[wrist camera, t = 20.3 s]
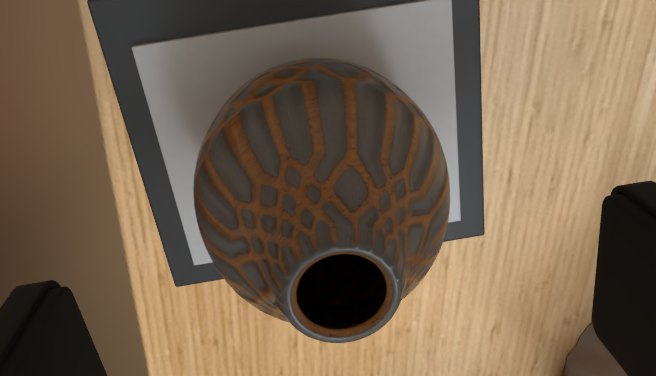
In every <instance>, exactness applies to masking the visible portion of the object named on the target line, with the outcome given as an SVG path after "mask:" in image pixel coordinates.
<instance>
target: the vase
mask: <svg viewBox="0 0 656 376" xmlns="http://www.w3.org/2000/svg"><path fill="white" fill-rule="evenodd" d="M193 193H194V208H195V214H196V219H197V223H198V227H199V231H200V234H201V237H202V239H203V242H204V245H205V247H206V249H207V252H208V254H209V256H210V258H211V259H212V261H213V263H214V265H215V267H216V268H217V270H218V271H219V273H220V274H221V275H222V277H223V278H224V279H225V280H226V282H227V283H228V284H229V285H230V286H231V287H232V288H233V289H234V291H235V292H237V293H238V294H239V295H240V296H241V297H242V298H243V299H245V300H246V301H247V302H249V303H250V304H252V305H253V306H255V307H256V308H258V309H259V310H261V311H263V312H265V313H266V314H269V315H271V316H273V317H275V318H278V319H281V320H283V321H286V322H290V323H291V324H292V325H293V326H294V327H295V328H296V329H297V330H299V331H300V332H301V333H303V334H305V335H306V336H308V337H311V338H313V339H316V340H319V341H323V342H330V343H345V342H351V341H356V340H359V339H362V338H365V337H367V336H369V335H371V334H373V333H375V332H376V331H378V330H379V329H380V328H382V327H383V326H384V325H385V324H386V323H387V322H388V321H389V320H390V319H391V318H392V316H393V315H394V313H395V312H396V310H397V308H398V306H399V304H400V301H401V300H402V299H403V298H405V297H406V296H407V295H408V294H409V293H410V292H411V291H412V290H413V289H414V288H415V287H416V286H417V285H418V284H419V283H420V281H421V280H422V279H423V278H424V276H425V275H426V274H427V272H428V271H429V269H430V268H431V266H432V264H433V263H434V261H435V259H436V257H437V255H438V253H439V251H440V248H441V246H442V243H443V239H444V236H445V233H446V229H447V225H448V218H449V210H450V182H449V174H448V168H447V163H446V159H445V155H444V152H443V149H442V146H441V144H440V141H439V139H438V136H437V134H436V132H435V130H434V128H433V127H432V125H431V123H430V122H429V120H428V119H427V117H426V116H425V114H424V113H423V112H422V110H421V109H420V108H419V106H418V105H417V104H416V103H415V102H414V101H413V100H412V99H411V98H410V97H409V96H408V95H407V94H406V93H405V92H404V91H403V90H402V89H401V88H399V87H398V86H397V85H396V84H394V83H393V82H392V81H390V80H388V79H387V78H385V77H384V76H382V75H381V74H379V73H377V72H375V71H374V70H371V69H369V68H367V67H365V66H362V65H359V64H356V63H353V62H349V61H345V60H339V59H331V58H309V59H301V60H295V61H291V62H286V63H283V64H280V65H277V66H275V67H272V68H270V69H267V70H265V71H263V72H261V73H260V74H258V75H256V76H255V77H253V78H251V79H250V80H249V81H247V82H246V83H244V84H243V85H242V86H241V87H240V88H238V89H237V90H236V91H235V92H234V93H233V94H232V95H231V96H230V97H229V98H228V100H227V101H226V102H225V103H224V105H223V106H222V107H221V109H220V110H219V111H218V113H217V114H216V116H215V117H214V119H213V121H212V122H211V124H210V126H209V128H208V130H207V132H206V135H205V137H204V139H203V142H202V144H201V147H200V150H199V154H198V158H197V162H196V167H195V173H194V185H193Z"/></svg>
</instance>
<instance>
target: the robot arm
mask: <svg viewBox="0 0 656 376" xmlns="http://www.w3.org/2000/svg"><path fill="white" fill-rule="evenodd" d="M592 324H593V328H594V331H595V333H596V335H597V337H598V338H599V340H600V341H601V342H602V343H603V345H604V346H605V347H606V349H607V350H608V351H609V352H610V354H611V355H612V356H613V357H614V359H615V360H616V361H617V362H618V364H619V365H620V366H621V368H622V369H623V370H624V371H625V373H626V374H627V375H628V376H656V183H655V182H653V181H645V182H639V183H633V184H627V185H621V186H617V187H615V188H614V189H613V191H612V192H611V196H607V197H605V199H604V200H603V204H602V213H601V223H600V234H599V245H598V256H597V266H596V277H595V288H594V299H593V309H592ZM0 376H107V374H106V372H105V369H104V367H103V365H102V362H101V360H100V357H99V355H98V353H97V350H96V348H95V346H94V343H93V341H92V338H91V336H90V334H89V331H88V329H87V327H86V324H85V322H84V319H83V317H82V315H81V312H80V310H79V308H78V305H77V303H76V300H75V298H74V296H73V293H72V292H71V290H70V289H69V288H68V287H61V286H60V285H59V284H58V283H57V282H56V281H53V280H51V281H45V282H39V283H32V284H26V285H21V286H17V287H16V288H15V289H14V290H13V291H12V292H11V294H10V295H9V297H8V298H7V299H6V301H5V302H4V304H3V305H2V307H1V308H0Z"/></svg>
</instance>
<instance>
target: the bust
mask: <svg viewBox="0 0 656 376" xmlns="http://www.w3.org/2000/svg"><path fill="white" fill-rule="evenodd" d="M562 376H628V375H627V374H626V373H625V371H624V370H623V369H622V368H621V366H620V365H619V364H618V362H617V361H616V360H615V359H614V357H613V356H612V355H611V354H610V352H609V351H608V350H607V349H606V347H605V346H604V345H603V343H602V342H601V341H600V340H599V338H598V337H597V335H596V333H595V331H594V328H593V324H592V323H591V324H590V325H589V326H588V327H587V328H586V329H585V331H584V332H583V334H582V335H581V336H580V338H579V341H578V343H577V344H576V346H575V347H574V348H573V350H572V351H571V352H570V353H569V354H568V356H567V358H566V364H565V369H564V372H563V375H562Z"/></svg>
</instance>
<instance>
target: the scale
mask: <svg viewBox="0 0 656 376" xmlns="http://www.w3.org/2000/svg"><path fill="white" fill-rule="evenodd" d="M87 3H88V6H89V10H90V13H91V16H92V19H93V22H94V26H95V29H96V32H97V35H98V39H99V42H100V45H101V48H102V51H103V55H104V58H105V61H106V64H107V67H108V71H109V74H110V77H111V80H112V84H113V87H114V90H115V93H116V96H117V100H118V103H119V106H120V109H121V113H122V116H123V119H124V122H125V125H126V129H127V132H128V135H129V138H130V142H131V145H132V148H133V151H134V154H135V158H136V161H137V164H138V167H139V171H140V174H141V177H142V180H143V183H144V187H145V190H146V193H147V196H148V199H149V203H150V206H151V209H152V212H153V216H154V219H155V222H156V225H157V228H158V232H159V235H160V238H161V241H162V245H163V248H164V251H165V254H166V257H167V261H168V264H169V267H170V270H171V274H172V277H173V280H174V283H175V286H176V287H179V286H185V285H191V284H197V283H202V282H208V281H214V280H220V279H224V278H223V277H222V275H221V274H220V273H219V271H218V270H217V268H216V267H215V265H214V263H213V261H212V259H211V258H210V256H209V254H208V252H207V249H206V247H205V245H204V242H203V239H202V237H201V234H200V231H199V227H198V223H197V219H196V214H195V208H194V193H193V185H194V173H195V167H196V162H197V158H198V154H199V150H200V147H201V144H202V142H203V139H204V137H205V135H206V132H207V130H208V128H209V126H210V124H211V122H212V121H213V119H214V117H215V116H216V114H217V113H218V111H219V110H220V109H221V107H222V106H223V105H224V103H225V102H226V101H227V100H228V98H229V97H230V96H231V95H232V94H233V93H234V92H235V91H236V90H237V89H238V88H240V87H241V86H242V85H243V84H244V83H246V82H247V81H249V80H250V79H251V78H253V77H255V76H256V75H258V74H260V73H261V72H263V71H265V70H267V69H270V68H272V67H275V66H277V65H280V64H283V63H286V62H291V61H295V60H301V59H309V58H331V59H339V60H345V61H349V62H353V63H356V64H359V65H362V66H365V67H367V68H369V69H371V70H374V71H375V72H377V73H379V74H381V75H382V76H384V77H385V78H387V79H388V80H390V81H392V82H393V83H394V84H396V85H397V86H398V87H399V88H401V89H402V90H403V91H404V92H405V93H406V94H407V95H408V96H409V97H410V98H411V99H412V100H413V101H414V102H415V103H416V104H417V105H418V106H419V108H420V109H421V110H422V112H423V113H424V114H425V116H426V117H427V119H428V120H429V122H430V123H431V125H432V127H433V128H434V130H435V132H436V134H437V136H438V139H439V141H440V144H441V146H442V149H443V152H444V155H445V159H446V163H447V168H448V174H449V182H450V210H449V218H448V225H447V229H446V233H445V236H444V239H443V242H445V241H451V240H456V239H462V238H468V237H474V236H480V235H484V197H483V150H482V103H481V56H480V9H479V0H88V2H87Z"/></svg>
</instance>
